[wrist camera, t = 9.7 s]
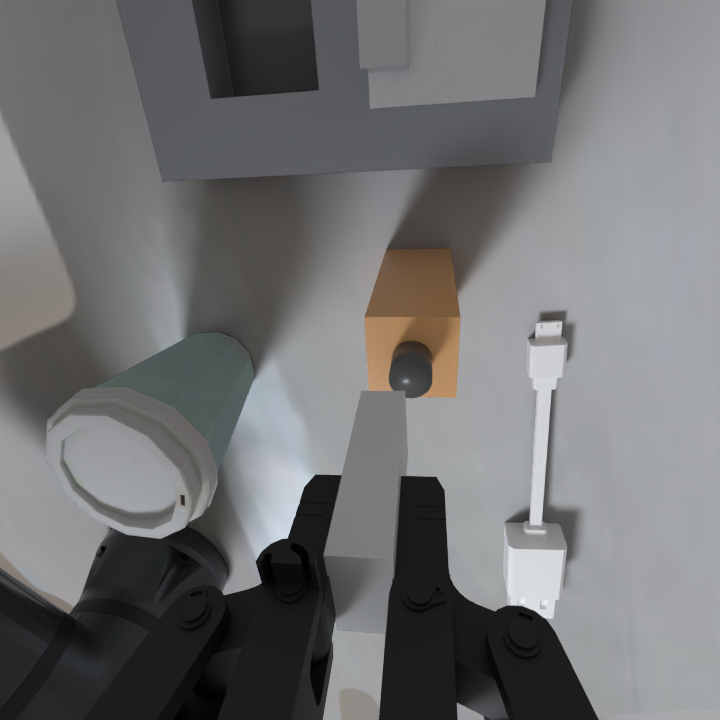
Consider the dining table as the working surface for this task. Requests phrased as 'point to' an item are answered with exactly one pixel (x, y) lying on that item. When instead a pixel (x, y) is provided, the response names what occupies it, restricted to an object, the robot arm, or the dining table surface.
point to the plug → (414, 324)
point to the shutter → (449, 50)
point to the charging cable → (538, 491)
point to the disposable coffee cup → (152, 436)
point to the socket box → (311, 95)
